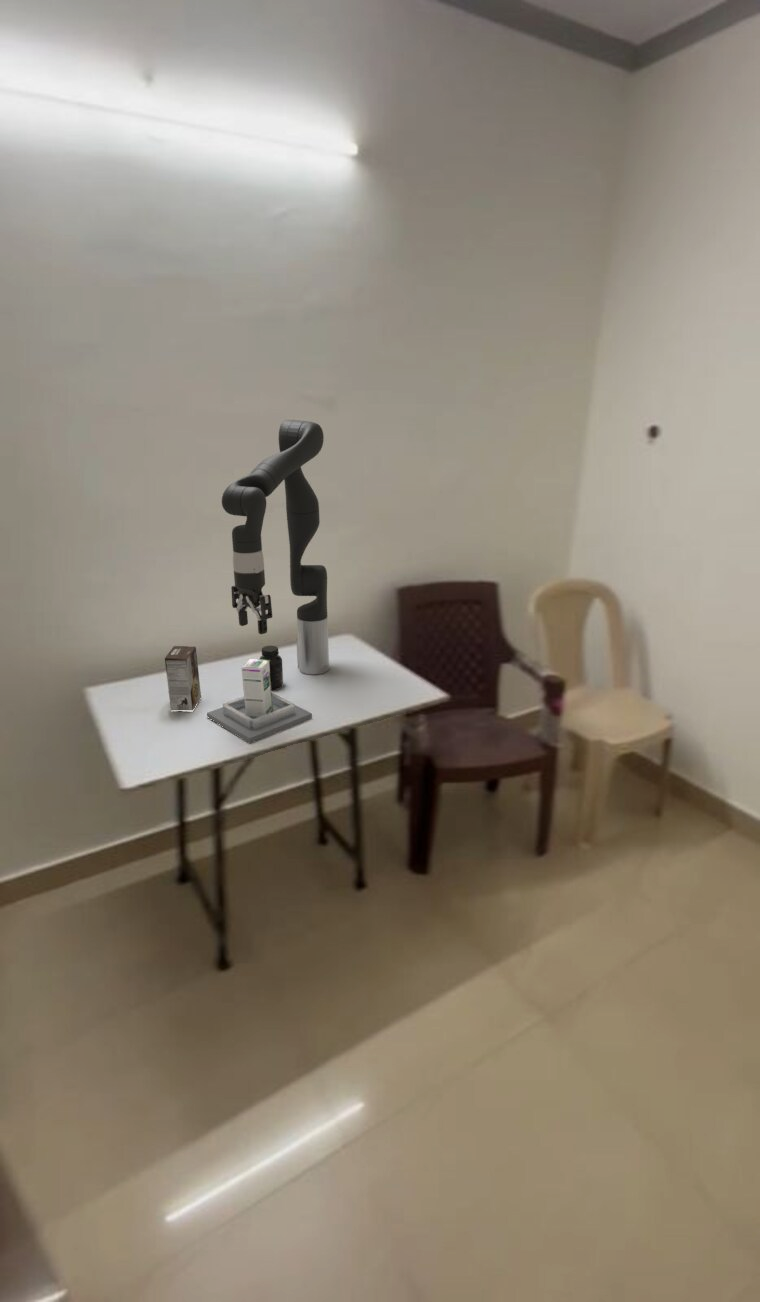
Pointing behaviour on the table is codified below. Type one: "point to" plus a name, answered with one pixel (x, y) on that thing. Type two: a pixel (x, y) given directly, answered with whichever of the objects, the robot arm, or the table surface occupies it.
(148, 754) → the table surface
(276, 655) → the supplement bottle
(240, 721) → the frame
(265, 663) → the syrup box
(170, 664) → the coffee box
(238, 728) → the plate
